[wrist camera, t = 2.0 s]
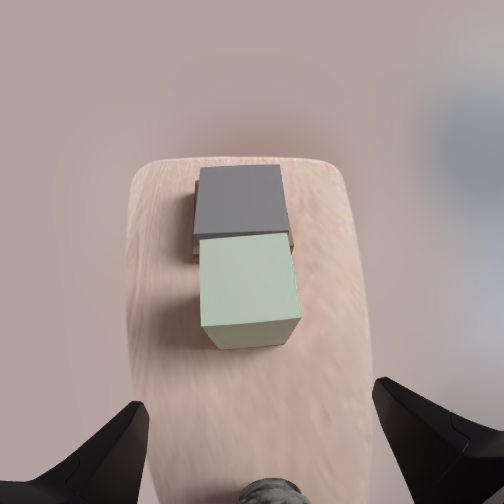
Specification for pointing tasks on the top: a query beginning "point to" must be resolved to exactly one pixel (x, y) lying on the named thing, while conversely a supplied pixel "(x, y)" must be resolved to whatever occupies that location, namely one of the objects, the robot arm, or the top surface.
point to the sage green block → (248, 291)
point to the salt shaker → (272, 493)
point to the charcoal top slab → (240, 202)
